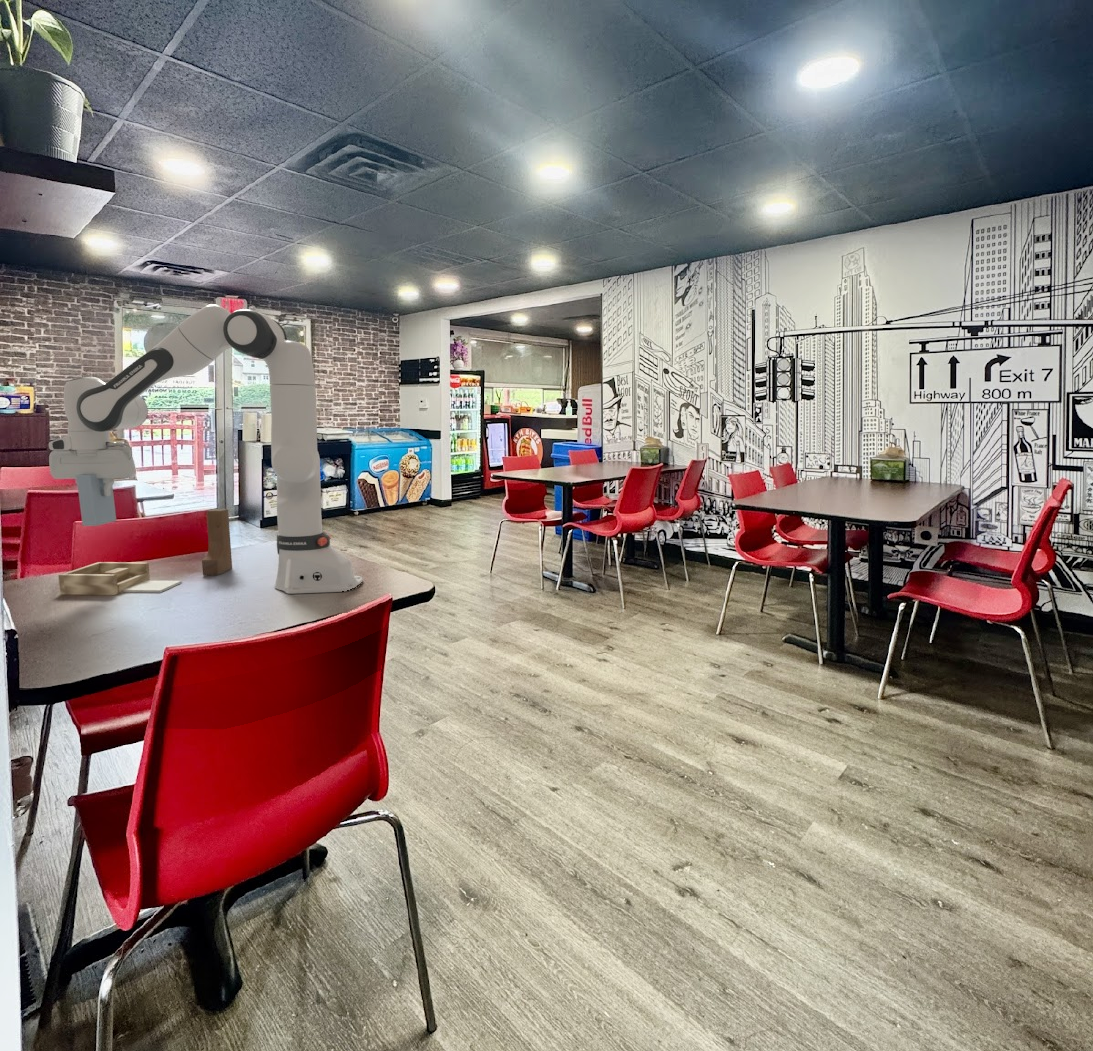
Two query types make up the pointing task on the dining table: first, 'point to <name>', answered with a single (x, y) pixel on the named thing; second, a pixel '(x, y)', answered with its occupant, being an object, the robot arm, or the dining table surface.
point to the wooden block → (218, 543)
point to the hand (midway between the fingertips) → (96, 496)
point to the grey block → (94, 501)
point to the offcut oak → (119, 573)
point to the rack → (102, 578)
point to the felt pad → (152, 586)
